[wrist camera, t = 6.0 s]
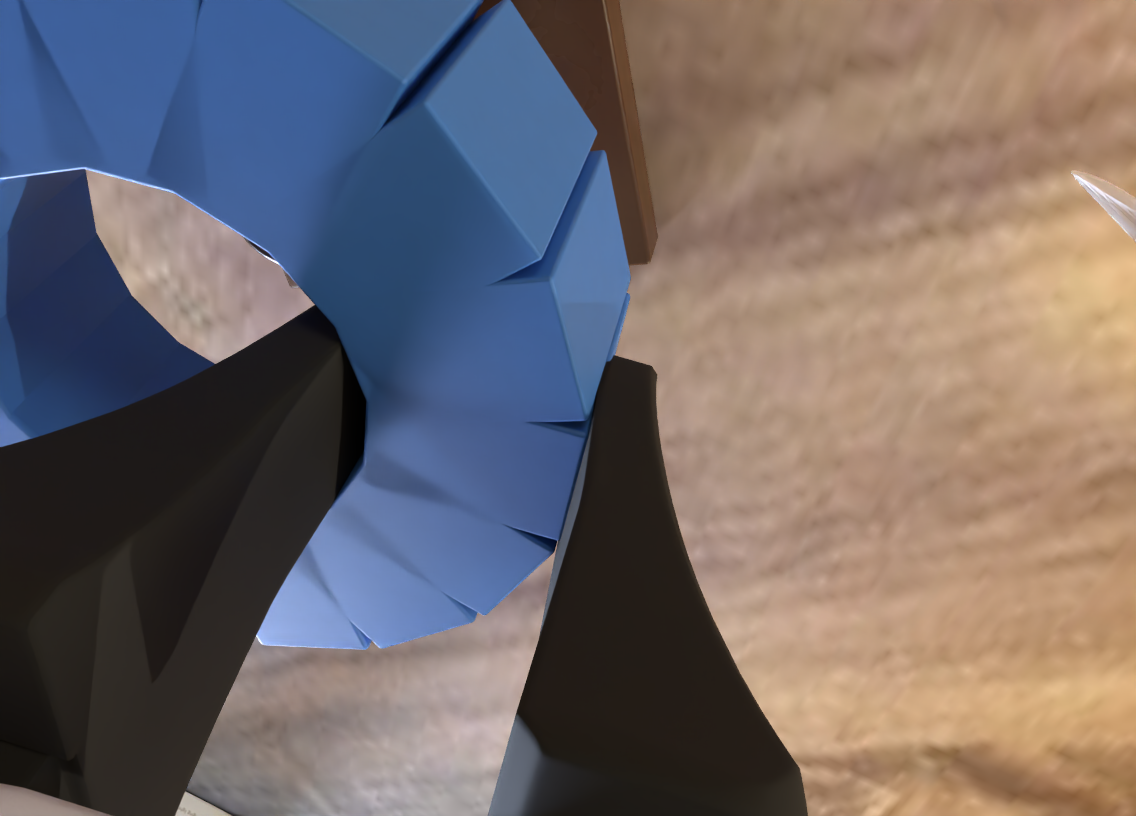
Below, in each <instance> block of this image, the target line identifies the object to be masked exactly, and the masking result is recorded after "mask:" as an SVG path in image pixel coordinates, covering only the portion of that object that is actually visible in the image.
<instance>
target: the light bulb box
mask: <svg viewBox="0 0 1136 816" xmlns="http://www.w3.org/2000/svg"><path fill="white" fill-rule="evenodd" d="M175 816H232V815H230V814H228V813H226V812H224V811H223V810H221V809H219V808H217V807H215V806H213V805H211V804H209V803H207V802H205V801H203V800H201V799H199V798H198V797H196V796H194V795H192V794H190V793H188V792H186V791H185V793H184V795H183V798H182V800H181V803H180V805H179V807H178V810H177V812H176V815H175Z"/></svg>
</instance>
